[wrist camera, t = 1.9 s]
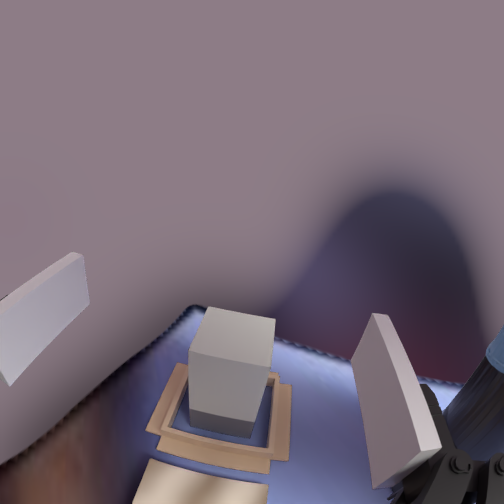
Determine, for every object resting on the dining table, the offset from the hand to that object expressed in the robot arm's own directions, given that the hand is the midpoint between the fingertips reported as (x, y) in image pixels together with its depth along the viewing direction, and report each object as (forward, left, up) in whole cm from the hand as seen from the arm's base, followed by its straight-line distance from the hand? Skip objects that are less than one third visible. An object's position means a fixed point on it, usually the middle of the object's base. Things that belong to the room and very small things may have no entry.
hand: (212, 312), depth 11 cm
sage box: (0, -11, -23) cm, 25 cm away
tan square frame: (0, -11, -23) cm, 25 cm away
